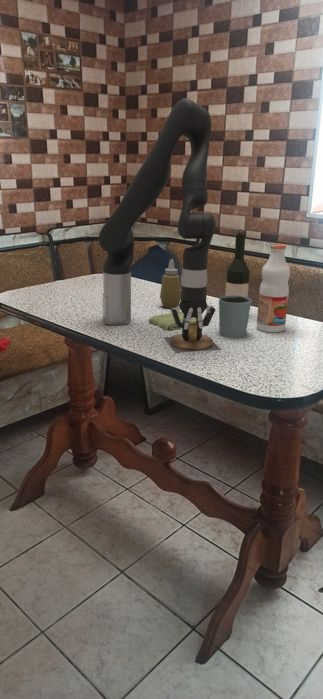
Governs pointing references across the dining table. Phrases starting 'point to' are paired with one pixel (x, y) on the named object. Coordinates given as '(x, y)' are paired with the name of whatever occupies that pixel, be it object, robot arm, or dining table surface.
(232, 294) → the wine bottle
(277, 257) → the fruit juice
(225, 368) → the dining table surface
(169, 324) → the washcloth
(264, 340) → the dining table surface
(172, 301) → the squeeze bottle
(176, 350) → the mat
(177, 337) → the lid
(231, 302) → the grey-blue cup
